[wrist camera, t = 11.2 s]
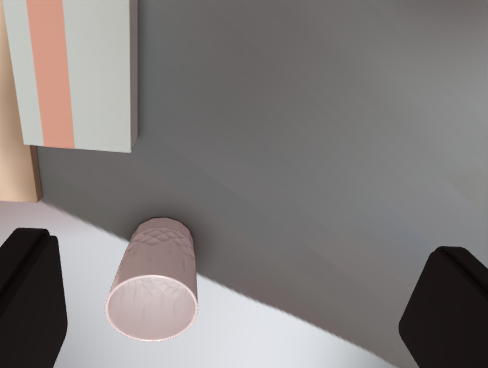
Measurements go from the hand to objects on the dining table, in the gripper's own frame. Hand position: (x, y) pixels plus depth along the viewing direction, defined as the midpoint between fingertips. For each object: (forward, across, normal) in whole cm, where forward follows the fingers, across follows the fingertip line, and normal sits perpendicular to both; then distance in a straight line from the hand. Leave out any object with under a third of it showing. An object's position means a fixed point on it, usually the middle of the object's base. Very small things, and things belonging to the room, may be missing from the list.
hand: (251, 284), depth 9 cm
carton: (+26, +11, 0) cm, 29 cm away
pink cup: (+26, +4, +18) cm, 32 cm away
